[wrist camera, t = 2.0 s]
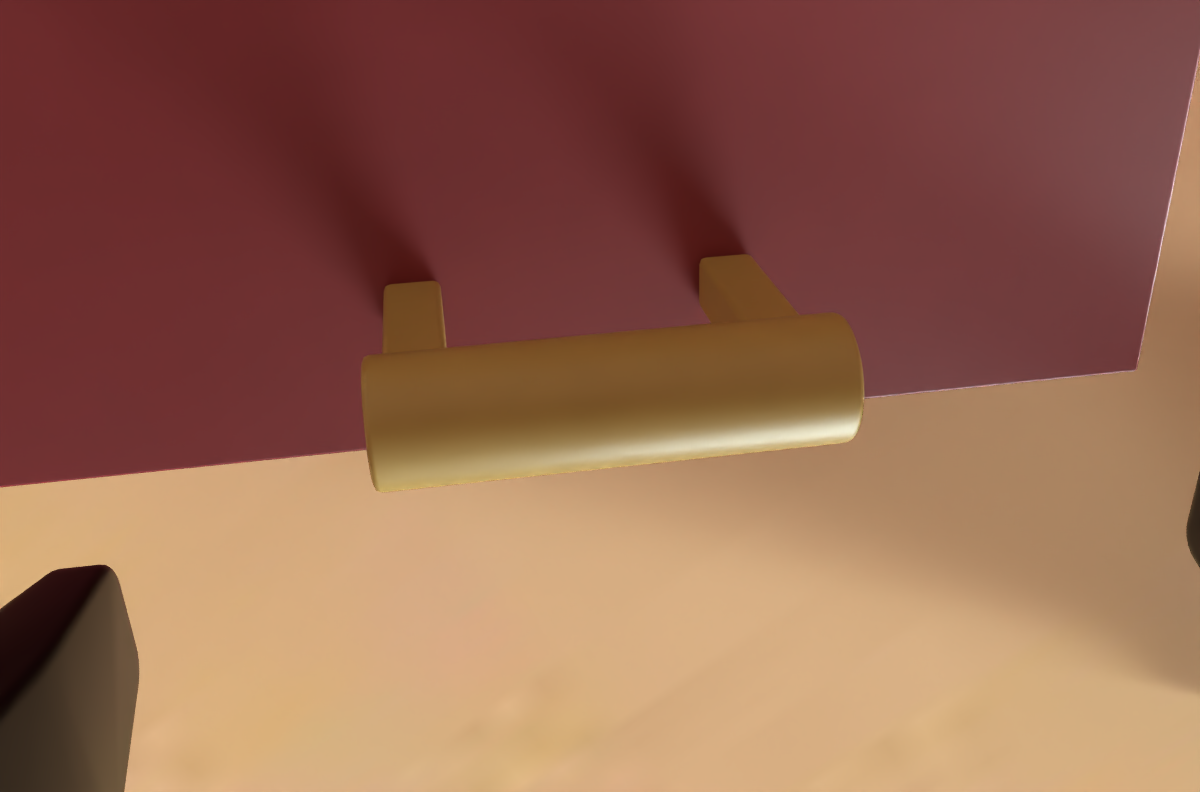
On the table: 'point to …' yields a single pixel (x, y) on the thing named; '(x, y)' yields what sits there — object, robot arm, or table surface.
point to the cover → (561, 222)
